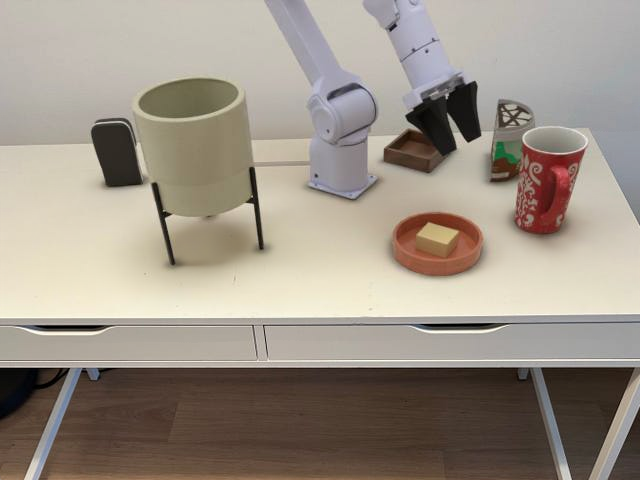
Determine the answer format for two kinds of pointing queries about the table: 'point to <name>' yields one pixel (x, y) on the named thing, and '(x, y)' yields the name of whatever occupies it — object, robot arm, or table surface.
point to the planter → (197, 148)
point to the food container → (509, 138)
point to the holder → (413, 151)
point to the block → (437, 240)
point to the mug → (547, 177)
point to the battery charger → (116, 151)
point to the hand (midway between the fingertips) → (462, 146)
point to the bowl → (429, 263)
